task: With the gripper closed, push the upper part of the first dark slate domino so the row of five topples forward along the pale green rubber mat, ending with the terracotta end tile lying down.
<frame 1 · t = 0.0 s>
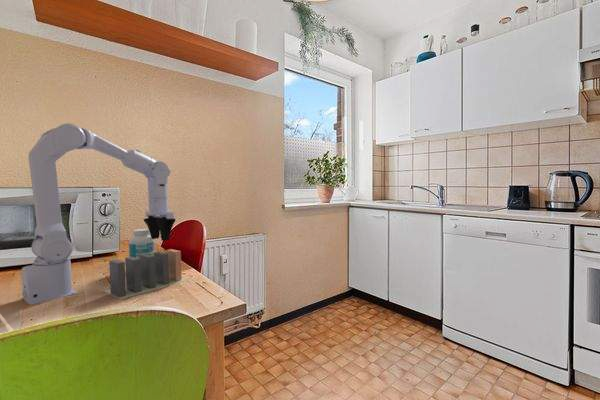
hand: (160, 239, 98), 10 cm above the table, fingers open, 6 cm apart
domino 4: (161, 282, 85), resting on mat
pill bottle: (142, 270, 100), on the table, touching gripper
domino 3: (148, 286, 82), resting on mat
mat: (148, 286, 83), on the table
domino 2: (133, 290, 79), resting on mat
domino 5: (174, 279, 88), resting on mat
domino 1: (118, 294, 76), resting on mat
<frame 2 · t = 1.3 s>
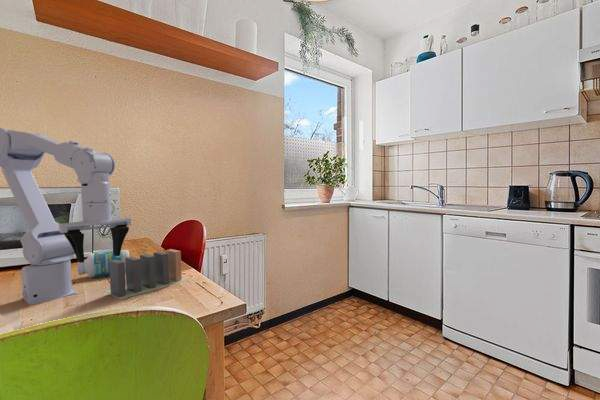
hand: (99, 258, 72), 10 cm above the table, fingers open, 7 cm apart
pill bottle: (130, 260, 98), point 4 cm above the table
everything else where it was.
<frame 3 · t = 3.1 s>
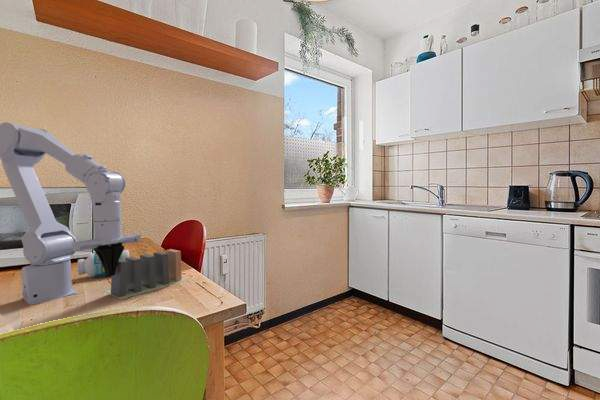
hand: (110, 275, 74), 6 cm above the table, fingers closed
domino 1: (118, 294, 76), resting on mat, tilted 5°, touching gripper
everything else where it was.
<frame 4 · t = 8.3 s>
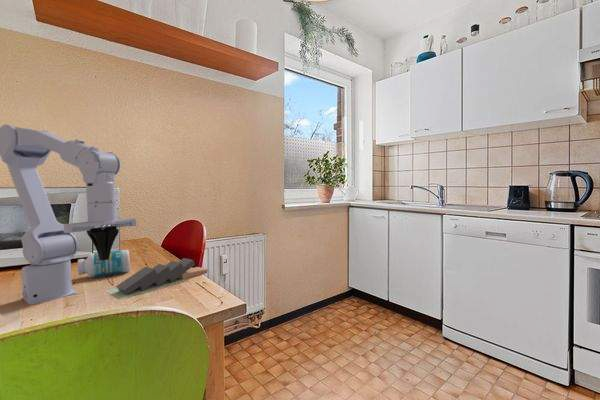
hand: (104, 259, 71), 10 cm above the table, fingers closed
domino 4: (165, 278, 86), point 1 cm above the table, tilted 66°, touching domino 3, domino 5
domino 3: (152, 282, 82), point 1 cm above the table, tilted 66°, touching domino 2, domino 4, mat
domino 2: (136, 286, 79), point 1 cm above the table, tilted 66°, touching domino 1, domino 3, mat
domino 5: (178, 275, 89), point 1 cm above the table, tilted 94°, touching domino 4, mat
domino 1: (121, 290, 76), point 1 cm above the table, tilted 66°, touching domino 2
everything else where it was.
at the end: domino 5 tilted 94°; domino 1 tilted 66° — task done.
